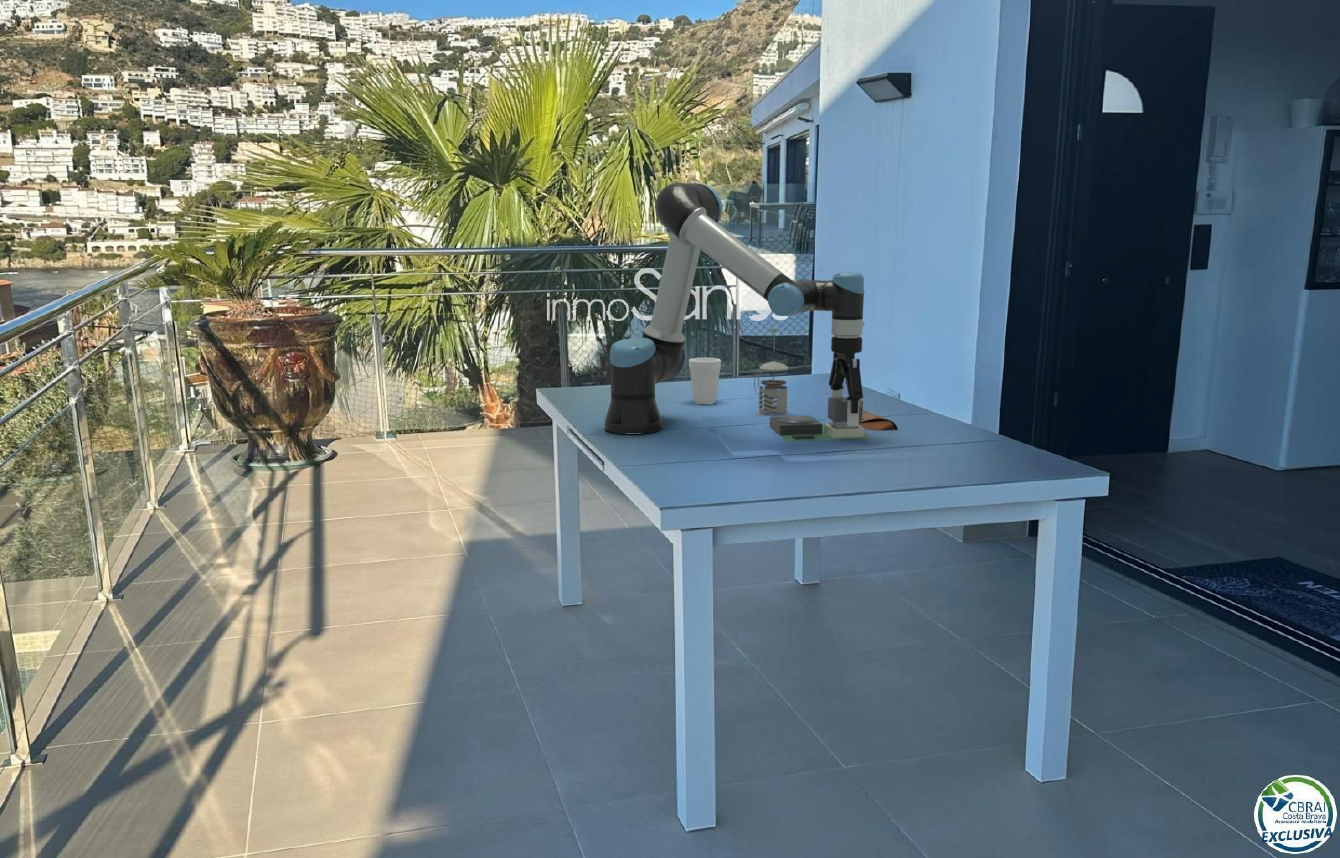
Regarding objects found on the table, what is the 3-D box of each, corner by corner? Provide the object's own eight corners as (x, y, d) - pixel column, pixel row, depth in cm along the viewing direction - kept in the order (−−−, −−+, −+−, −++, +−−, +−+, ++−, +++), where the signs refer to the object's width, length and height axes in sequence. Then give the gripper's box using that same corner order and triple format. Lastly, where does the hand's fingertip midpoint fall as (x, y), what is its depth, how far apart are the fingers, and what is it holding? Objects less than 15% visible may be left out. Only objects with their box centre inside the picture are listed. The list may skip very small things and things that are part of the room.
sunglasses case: (835, 423, 278) (847, 401, 278) (855, 434, 281) (867, 412, 281) (869, 436, 261) (882, 413, 261) (889, 448, 264) (902, 425, 264)
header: (832, 438, 254) (832, 429, 254) (824, 432, 261) (824, 423, 261) (863, 437, 255) (863, 428, 255) (854, 431, 262) (855, 422, 262)
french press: (773, 420, 282) (775, 329, 276) (743, 414, 290) (744, 326, 285) (797, 416, 288) (799, 327, 283) (767, 410, 296) (768, 323, 291)
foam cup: (726, 401, 310) (726, 359, 307) (710, 406, 302) (710, 363, 299) (699, 399, 315) (699, 356, 312) (683, 403, 307) (683, 360, 304)
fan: (779, 435, 258) (779, 424, 257) (769, 426, 269) (769, 416, 268) (822, 433, 259) (822, 423, 259) (810, 424, 270) (810, 414, 270)
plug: (834, 437, 255) (835, 402, 253) (827, 432, 261) (828, 397, 259) (861, 436, 256) (862, 401, 254) (854, 431, 262) (855, 396, 260)
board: (786, 446, 251) (786, 434, 251) (769, 430, 269) (769, 420, 268) (873, 442, 254) (873, 431, 254) (850, 428, 272) (851, 417, 271)
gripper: (878, 341, 241) (875, 430, 246) (846, 330, 266) (843, 410, 270) (847, 342, 240) (844, 431, 245) (818, 330, 265) (816, 411, 269)
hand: (844, 420), depth 257 cm, fingers open, 13 cm apart
